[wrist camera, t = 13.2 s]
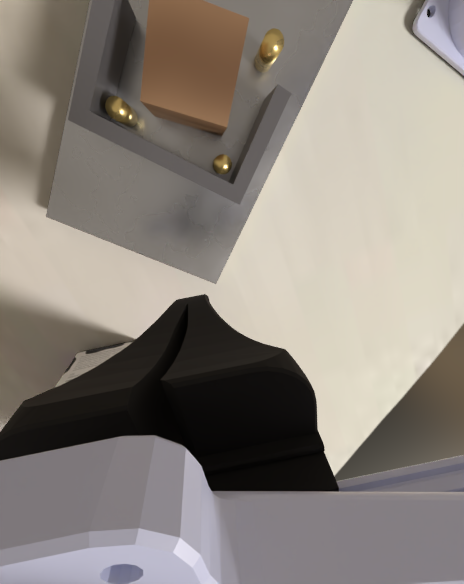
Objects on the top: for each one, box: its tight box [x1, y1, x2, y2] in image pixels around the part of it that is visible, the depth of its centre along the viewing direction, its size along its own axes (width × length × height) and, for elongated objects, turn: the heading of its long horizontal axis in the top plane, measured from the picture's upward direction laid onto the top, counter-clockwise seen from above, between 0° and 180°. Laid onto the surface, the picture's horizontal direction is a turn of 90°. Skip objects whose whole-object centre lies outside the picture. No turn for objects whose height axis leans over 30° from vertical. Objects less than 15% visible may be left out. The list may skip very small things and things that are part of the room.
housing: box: [68, 0, 291, 205], centre depth 14 cm, size 6×9×3 cm, turn 65°
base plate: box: [46, 0, 353, 284], centre depth 15 cm, size 19×12×4 cm, turn 154°
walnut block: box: [140, 0, 249, 136], centre depth 13 cm, size 4×4×4 cm
